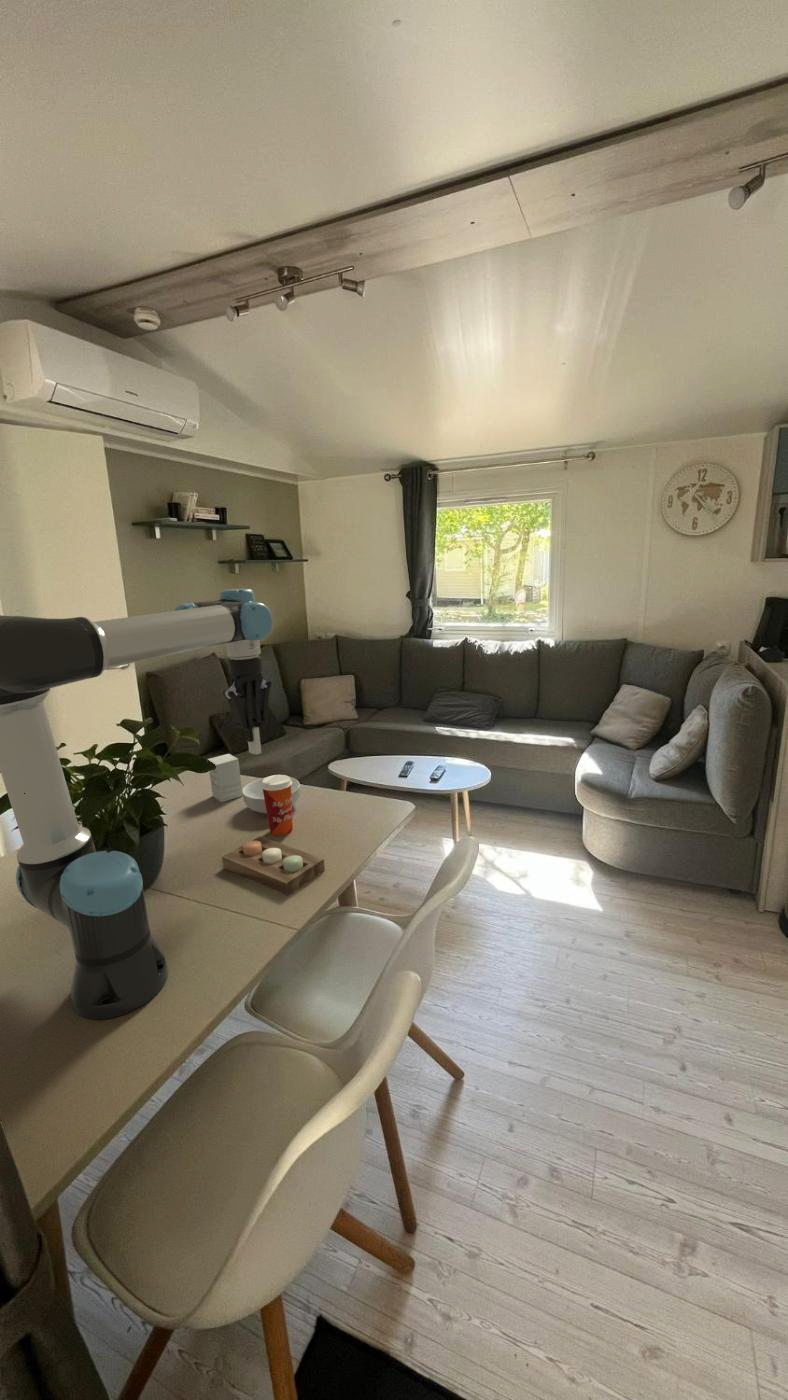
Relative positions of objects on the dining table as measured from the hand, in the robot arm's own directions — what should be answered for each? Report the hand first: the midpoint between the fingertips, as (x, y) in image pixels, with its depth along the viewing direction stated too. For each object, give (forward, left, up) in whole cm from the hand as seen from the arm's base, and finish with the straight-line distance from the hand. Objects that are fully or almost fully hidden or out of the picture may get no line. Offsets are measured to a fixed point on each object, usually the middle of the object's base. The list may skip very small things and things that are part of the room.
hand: (255, 752), depth 136 cm
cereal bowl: (+19, +18, -27) cm, 37 cm away
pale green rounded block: (-5, -15, -26) cm, 30 cm away
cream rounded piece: (-5, -8, -26) cm, 27 cm away
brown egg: (-5, -1, -26) cm, 26 cm away
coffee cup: (+10, +5, -27) cm, 29 cm away
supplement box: (+18, +38, -27) cm, 50 cm away
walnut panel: (-5, -8, -26) cm, 28 cm away
